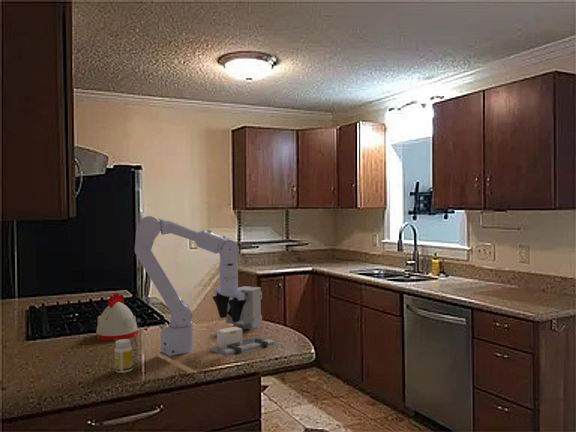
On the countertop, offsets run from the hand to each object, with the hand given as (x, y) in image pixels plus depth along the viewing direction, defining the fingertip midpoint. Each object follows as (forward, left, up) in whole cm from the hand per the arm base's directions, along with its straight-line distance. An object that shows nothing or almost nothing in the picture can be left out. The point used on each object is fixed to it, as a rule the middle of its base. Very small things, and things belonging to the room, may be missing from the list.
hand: (229, 319), depth 167 cm
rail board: (+3, -3, -9) cm, 10 cm away
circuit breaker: (+16, +16, -10) cm, 25 cm away
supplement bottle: (-34, +2, -10) cm, 35 cm away
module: (0, 0, -8) cm, 8 cm away
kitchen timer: (-21, +41, -10) cm, 47 cm away
